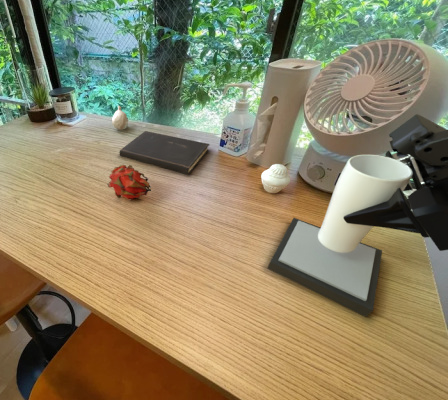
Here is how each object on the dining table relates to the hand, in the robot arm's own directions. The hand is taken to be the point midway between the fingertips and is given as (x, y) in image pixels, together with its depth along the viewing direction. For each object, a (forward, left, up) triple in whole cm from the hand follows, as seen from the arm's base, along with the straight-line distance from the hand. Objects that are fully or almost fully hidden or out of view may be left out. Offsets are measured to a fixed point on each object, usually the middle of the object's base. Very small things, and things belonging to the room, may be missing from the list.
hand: (344, 206), depth 39 cm
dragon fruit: (+40, +6, -12) cm, 42 cm away
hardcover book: (+45, -16, -12) cm, 49 cm away
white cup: (-2, 0, -8) cm, 8 cm away
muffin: (+13, -16, -12) cm, 24 cm away
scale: (-1, +1, -12) cm, 12 cm away
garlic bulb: (+70, -23, -12) cm, 74 cm away
